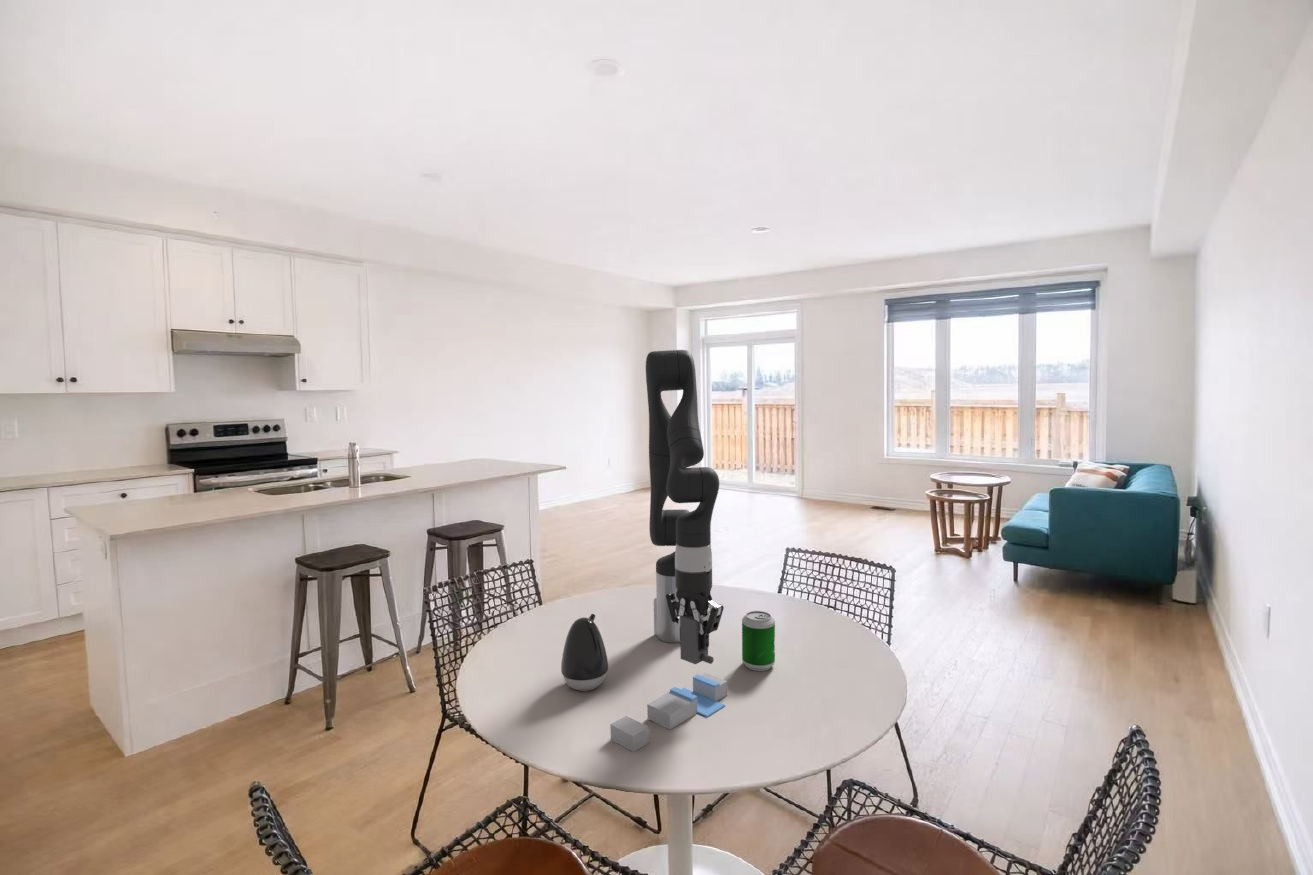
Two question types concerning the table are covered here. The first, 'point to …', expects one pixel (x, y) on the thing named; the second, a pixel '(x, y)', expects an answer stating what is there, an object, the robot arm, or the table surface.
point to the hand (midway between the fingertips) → (694, 646)
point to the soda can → (758, 640)
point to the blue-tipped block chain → (672, 710)
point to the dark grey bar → (691, 641)
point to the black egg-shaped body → (584, 656)
